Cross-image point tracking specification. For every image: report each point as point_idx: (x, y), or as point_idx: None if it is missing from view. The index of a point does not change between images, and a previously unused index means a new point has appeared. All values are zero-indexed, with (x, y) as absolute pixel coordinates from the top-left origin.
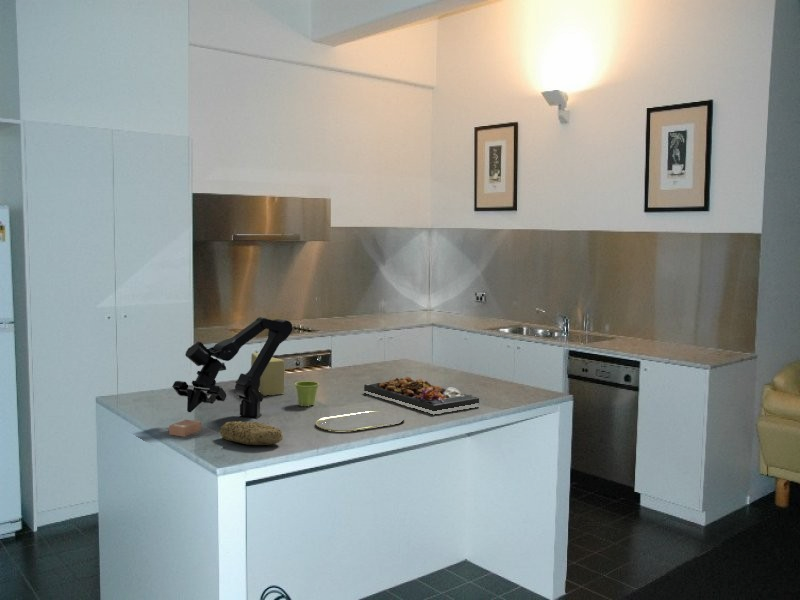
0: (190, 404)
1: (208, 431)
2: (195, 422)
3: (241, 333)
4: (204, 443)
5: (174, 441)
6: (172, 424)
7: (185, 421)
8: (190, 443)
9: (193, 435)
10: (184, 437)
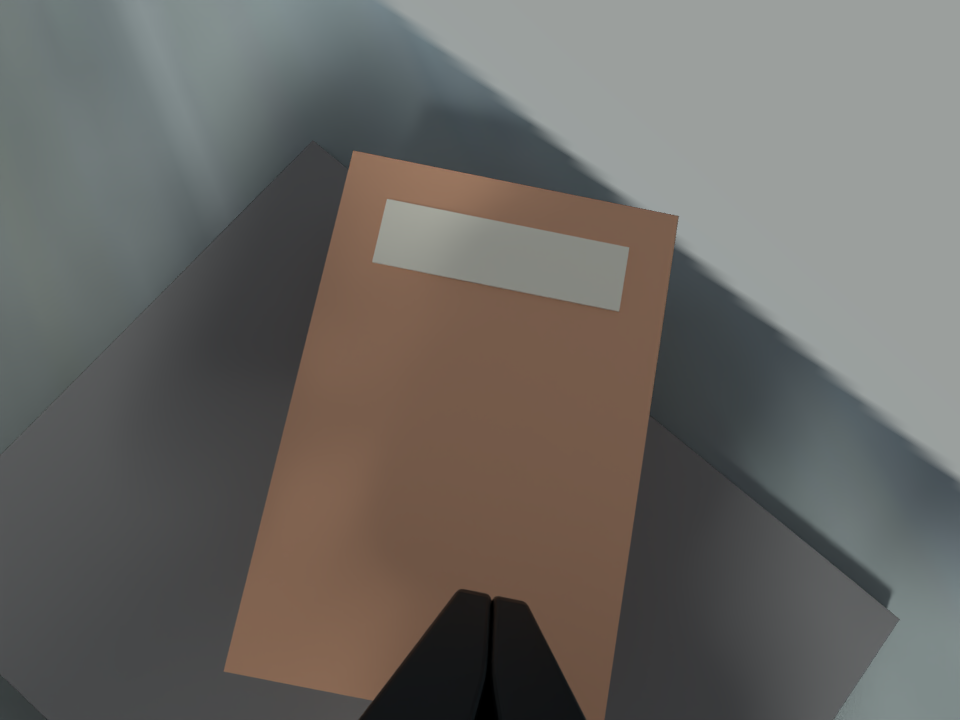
0: (459, 715)
1: (114, 610)
2: (309, 565)
3: None
4: (9, 72)
5: (443, 70)
6: (663, 297)
7: (539, 587)
8: (199, 34)
9: (270, 318)
10: None
